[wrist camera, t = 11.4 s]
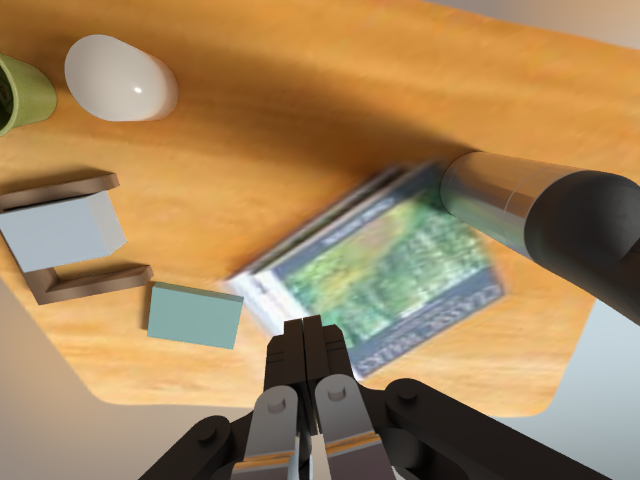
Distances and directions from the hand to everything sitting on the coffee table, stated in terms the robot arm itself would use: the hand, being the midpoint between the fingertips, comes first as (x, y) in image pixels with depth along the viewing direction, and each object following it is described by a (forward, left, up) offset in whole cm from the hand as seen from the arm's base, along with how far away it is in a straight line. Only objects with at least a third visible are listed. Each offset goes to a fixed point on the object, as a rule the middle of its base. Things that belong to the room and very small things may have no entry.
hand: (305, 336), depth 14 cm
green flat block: (+1, +23, -33) cm, 40 cm away
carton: (+20, +19, -32) cm, 42 cm away
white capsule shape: (+20, 0, -32) cm, 38 cm away
